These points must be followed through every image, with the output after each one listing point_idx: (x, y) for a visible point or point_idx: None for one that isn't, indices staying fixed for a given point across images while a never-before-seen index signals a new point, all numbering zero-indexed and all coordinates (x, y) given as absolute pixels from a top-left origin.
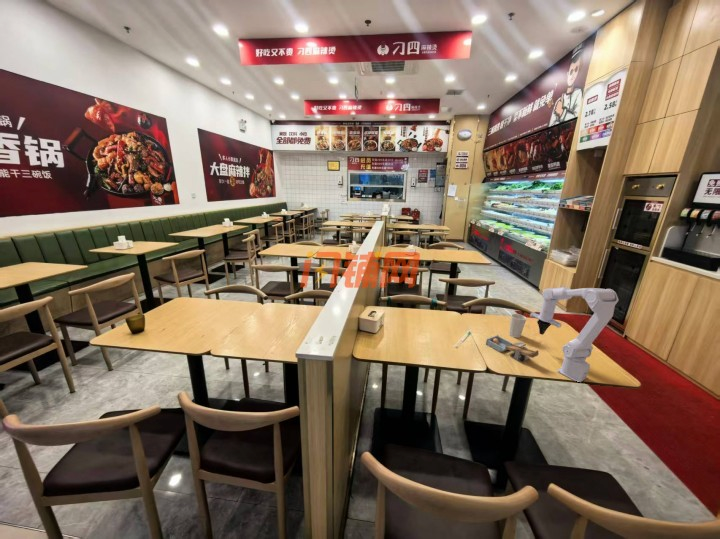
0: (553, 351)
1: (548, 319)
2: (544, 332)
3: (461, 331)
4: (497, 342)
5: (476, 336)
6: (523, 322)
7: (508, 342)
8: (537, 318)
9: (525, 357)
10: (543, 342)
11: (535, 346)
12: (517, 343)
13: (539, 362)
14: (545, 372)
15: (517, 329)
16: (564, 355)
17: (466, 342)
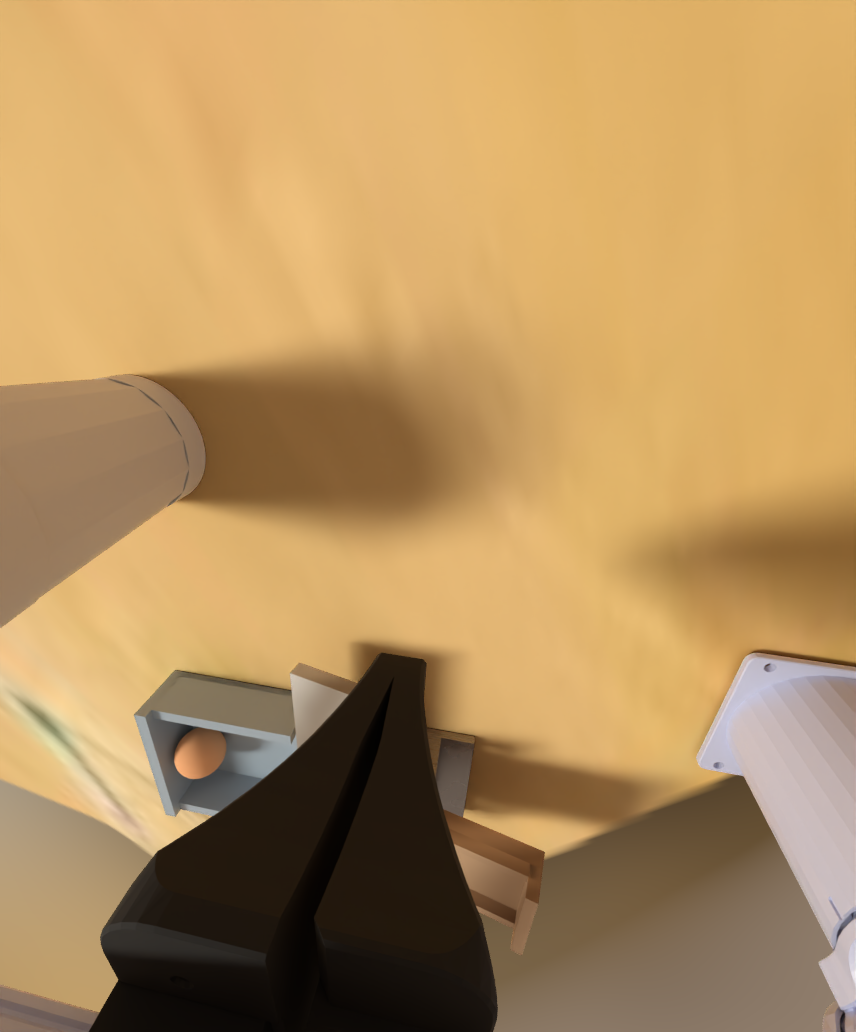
0: (579, 436)
1: None
2: (422, 684)
3: (10, 732)
4: (221, 759)
5: (91, 721)
6: (6, 583)
7: (261, 734)
8: (61, 1028)
9: (450, 757)
10: (406, 300)
11: (401, 500)
12: (311, 719)
13: (549, 730)
14: (627, 809)
15: (109, 544)
16: (826, 966)
17: (143, 814)
